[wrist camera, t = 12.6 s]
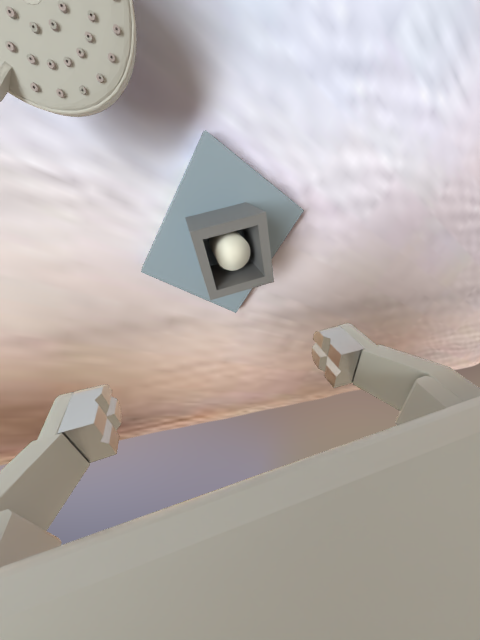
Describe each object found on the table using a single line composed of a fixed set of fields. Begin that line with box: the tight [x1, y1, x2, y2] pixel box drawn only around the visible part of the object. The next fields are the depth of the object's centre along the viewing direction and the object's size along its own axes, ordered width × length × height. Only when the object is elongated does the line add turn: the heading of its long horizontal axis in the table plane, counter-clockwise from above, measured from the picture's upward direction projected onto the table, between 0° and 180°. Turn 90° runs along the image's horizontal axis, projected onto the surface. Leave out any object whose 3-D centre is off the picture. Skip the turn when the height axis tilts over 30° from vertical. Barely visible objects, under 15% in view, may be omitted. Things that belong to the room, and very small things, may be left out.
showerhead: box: [0, 0, 137, 117], centre depth 14 cm, size 9×7×10 cm
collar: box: [185, 202, 274, 300], centre depth 23 cm, size 6×6×6 cm
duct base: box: [141, 130, 304, 313], centre depth 24 cm, size 14×12×6 cm
